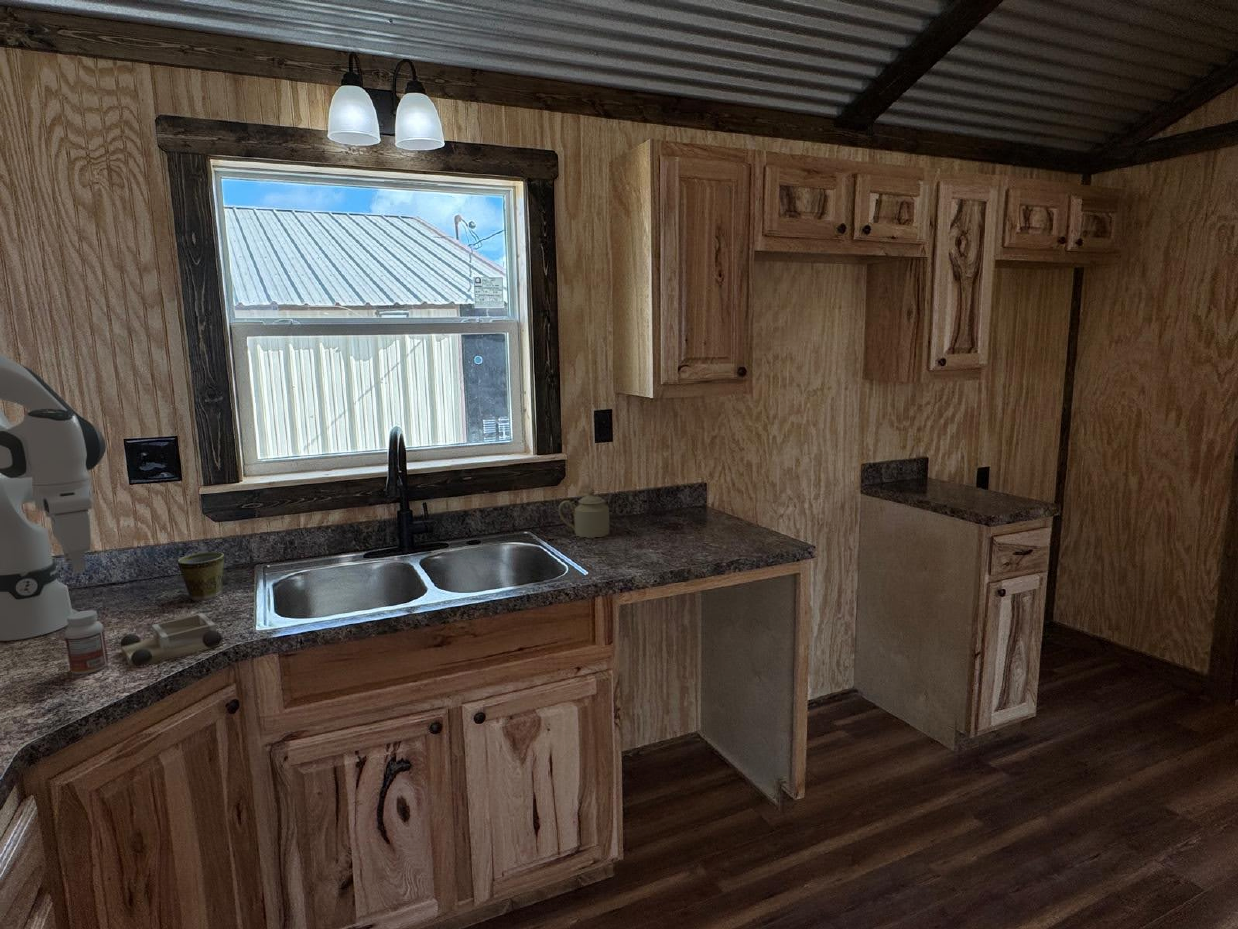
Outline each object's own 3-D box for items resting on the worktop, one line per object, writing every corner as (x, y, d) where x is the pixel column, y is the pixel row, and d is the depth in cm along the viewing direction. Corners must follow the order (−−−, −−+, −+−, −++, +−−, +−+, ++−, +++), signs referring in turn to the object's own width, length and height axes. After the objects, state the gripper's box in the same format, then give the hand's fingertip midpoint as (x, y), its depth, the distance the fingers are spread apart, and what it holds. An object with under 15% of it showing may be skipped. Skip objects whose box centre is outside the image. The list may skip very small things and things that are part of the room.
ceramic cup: (234, 595, 188) (230, 556, 186) (191, 606, 180) (186, 566, 179) (214, 584, 196) (210, 547, 195) (172, 594, 189) (167, 556, 187)
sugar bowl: (571, 542, 229) (570, 493, 227) (558, 534, 239) (556, 487, 236) (615, 535, 236) (614, 488, 233) (600, 527, 245) (599, 482, 243)
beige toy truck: (121, 652, 154) (118, 631, 153) (207, 630, 164) (205, 611, 164) (132, 669, 146) (129, 647, 145) (222, 645, 156) (220, 624, 156)
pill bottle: (82, 662, 149) (74, 609, 147) (115, 660, 150) (108, 607, 148) (63, 676, 143) (54, 621, 141) (97, 674, 144) (89, 619, 142)
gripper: (36, 491, 146) (47, 560, 148) (49, 506, 131) (61, 582, 133) (76, 486, 150) (86, 553, 153) (93, 500, 135) (104, 574, 138)
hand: (75, 567), depth 143 cm, fingers open, 8 cm apart
